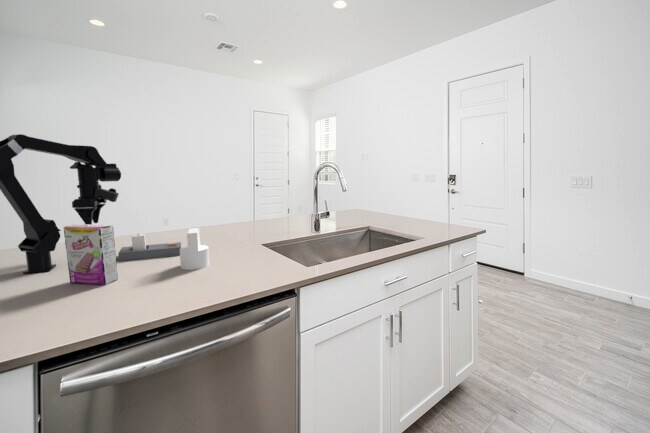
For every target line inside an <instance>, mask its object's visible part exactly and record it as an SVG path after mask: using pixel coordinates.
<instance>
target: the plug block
mask: <svg viewBox="0 0 650 433" xmlns="http://www.w3.org/2000/svg"><path fill="white" fill-rule="evenodd" d="M146 242H147V241H146V233H136V234H132V235H131V246H132V248H133V250H145V249H146V245H147V243H146Z"/></svg>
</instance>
